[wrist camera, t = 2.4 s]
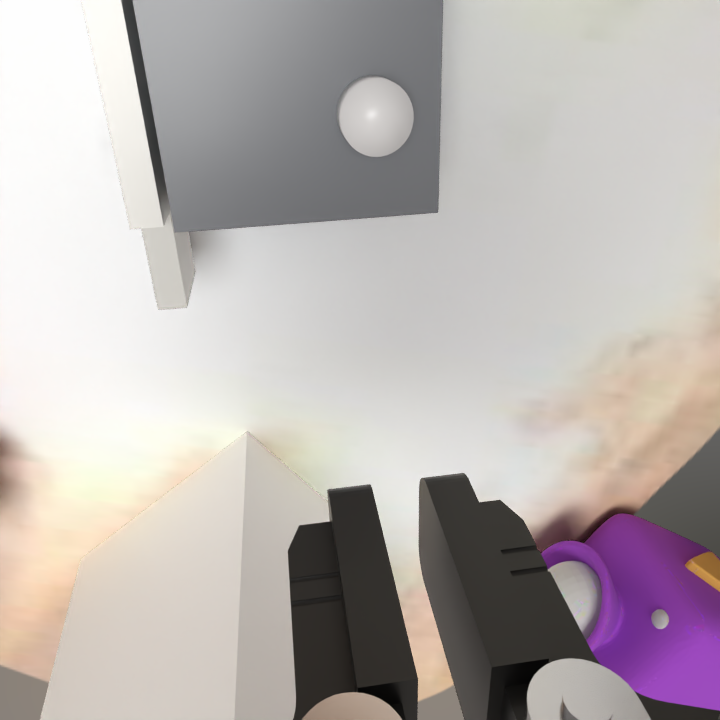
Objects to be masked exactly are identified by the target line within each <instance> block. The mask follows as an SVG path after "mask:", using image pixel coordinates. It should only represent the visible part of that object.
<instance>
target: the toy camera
mask: <svg viewBox="0 0 720 720" xmlns="http://www.w3.org/2000/svg"><path fill="white" fill-rule="evenodd" d="M541 555H542V557H543V559H544V561H545V563H546V565H547V569H548V572H549V571H550V572H551V574H552V576H553V578H554V580H555V582H556V584H557V586H558V588H559V589H560V591H561V593H562V595H563V597H564V599H565V601H566V603H567V605H568V607H569V609H570V611H571V612H572V614H573V616H574V618H575V620H576V622H577V624H578V626H579V628H580V630H581V632H582V634H583V635H584V637H585V639H586V641H587V643H588V645H589V647H590V649H591V651H592V652H593V654H594V656H595V657H596V659H597V660H598V662H599V663H600V664H601V665H602V666H604V667H606V668H607V669H609V670H611V671H612V672H614V673H615V674H617V675H618V676H620V677H621V678H622V679H623V680H624V681H625V682H626V683H627V684H628V685H629V686H630V687H631V688H632V689H633V690H634V691H635V692H637V693H639V694H641V695H644V696H646V697H649V698H652V699H655V700H660V701H664V702H669V703H676V704H682V705H688V706H694V707H700V708H706V709H712V710H719V711H720V558H719V557H717V556H716V555H715V554H714V553H713V552H711V551H710V550H709V549H707V548H705V547H703V546H701V545H699V544H697V543H695V542H693V541H691V540H689V539H687V538H684V537H682V536H680V535H678V534H676V533H673V532H671V531H669V530H667V529H664V528H662V527H660V526H658V525H656V524H653V523H651V522H649V521H647V520H644V519H642V518H639V517H636V516H634V515H630V514H625V513H621V514H616V515H614V516H612V517H610V518H609V519H608V520H606V521H605V522H604V523H603V524H602V525H601V526H600V527H599V528H598V529H597V530H596V531H595V532H594V533H593V534H592V535H591V536H590V537H589V538H588V539H587V540H586V541H585V542H584V543H581V542H578V541H562V542H558V543H556V544H553V545H552V546H550V547H548V548H547V549H546V550H544V551H543V552H542V553H541Z"/></svg>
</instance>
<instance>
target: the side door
mask: <svg viewBox="0 0 720 720" xmlns="http://www.w3.org/2000/svg"><path fill="white" fill-rule="evenodd" d="M81 3H82V8H83V12H84V17H85V22H86V26H87V31H88V36H89V40H90V45H91V50H92V54H93V59H94V64H95V68H96V73H97V78H98V82H99V87H100V92H101V96H102V101H103V106H104V110H105V115H106V120H107V124H108V129H109V134H110V138H111V143H112V148H113V152H114V157H115V161H116V166H117V171H118V175H119V180H120V185H121V189H122V194H123V199H124V203H125V208H126V213H127V217H128V222H129V227H130V229H142V234H143V239H144V244H145V249H146V254H147V259H148V263H149V268H150V273H151V278H152V283H153V288H154V293H155V297H156V302H157V307H158V310H165V309H176V308H187V306H188V302H189V297H190V293H191V289H192V284H193V280H194V276H195V272H196V271H195V265H194V259H193V253H192V247H191V242H190V236H189V232H178V233H174V227H173V221H172V216H171V210H170V205H169V199H168V194H167V188H166V183H165V177H164V172H163V166H162V161H161V155H160V150H159V144H158V138H157V133H156V127H155V122H154V116H153V111H152V105H151V100H150V94H149V89H148V83H147V78H146V72H145V67H144V61H143V55H142V50H141V44H140V39H139V33H138V28H137V22H136V17H135V11H134V6H133V0H81Z"/></svg>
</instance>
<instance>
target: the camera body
mask: <svg viewBox="0 0 720 720" xmlns="http://www.w3.org/2000/svg"><path fill="white" fill-rule="evenodd" d="M133 6H134V11H135V17H136V22H137V28H138V33H139V39H140V44H141V50H142V55H143V61H144V67H145V72H146V78H147V83H148V89H149V94H150V100H151V105H152V111H153V116H154V122H155V127H156V133H157V138H158V144H159V150H160V155H161V161H162V166H163V172H164V177H165V183H166V188H167V194H168V199H169V205H170V210H171V216H172V221H173V227H174V233H178V232H191V231H204V230H217V229H230V228H243V227H256V226H269V225H283V224H296V223H309V222H322V221H335V220H348V219H361V218H374V217H387V216H400V215H413V214H426V213H438V197H439V153H440V110H441V67H442V23H443V0H133Z"/></svg>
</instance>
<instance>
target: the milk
mask: <svg viewBox="0 0 720 720" xmlns="http://www.w3.org/2000/svg"><path fill="white" fill-rule="evenodd" d="M329 521H330V520H329V507H328V501H327V500H325V499H324V498H323V497H322V496H321V495H320V494H319V493H317V492H316V491H315V490H314V489H313V488H312V487H311V486H309V485H308V484H307V483H306V482H305V481H304V480H302V479H301V478H300V477H299V476H298V475H297V474H296V473H294V472H293V471H292V470H291V469H290V468H289V467H288V466H286V465H285V464H284V463H283V462H282V461H281V460H280V459H278V458H277V457H276V456H275V455H274V454H273V453H272V452H270V451H269V450H268V449H267V448H266V447H265V446H264V445H262V444H261V443H260V442H259V441H258V440H257V439H256V438H254V437H253V436H252V435H251V434H250V433H249V432H248V431H247V432H245V433H244V434H243V435H241V436H240V437H239V438H238V439H236V440H235V441H234V442H232V443H231V444H230V445H228V446H227V447H226V448H224V449H223V450H222V451H221V452H219V453H218V454H217V455H215V456H214V457H213V458H211V459H210V460H209V461H207V462H206V463H205V464H204V465H202V466H201V467H200V468H198V469H197V470H196V471H194V472H193V473H192V474H190V475H189V476H188V477H187V478H185V479H184V480H183V481H181V482H180V483H179V484H177V485H176V486H175V487H173V488H172V489H171V490H170V491H168V492H167V493H166V494H164V495H163V496H162V497H160V498H159V499H158V500H156V501H155V502H154V503H153V504H151V505H150V506H149V507H147V508H146V509H145V510H143V511H142V512H141V513H139V514H138V515H137V516H136V517H134V518H133V519H132V520H130V521H129V522H128V523H126V524H125V525H124V526H122V527H121V528H120V529H119V530H117V531H116V532H115V533H113V534H112V535H111V536H109V537H108V538H107V539H105V540H104V541H103V542H102V543H100V544H99V545H98V546H96V547H95V548H94V549H92V550H91V551H90V552H88V553H87V554H86V555H84V556H83V557H82V558H81V560H80V564H79V568H78V572H77V576H76V580H75V584H74V588H73V592H72V595H71V599H70V603H69V607H68V611H67V615H66V619H65V623H64V627H63V631H62V635H61V639H60V643H59V647H58V651H57V654H56V658H55V662H54V666H53V670H52V674H51V678H50V682H49V686H48V690H47V694H46V698H45V702H44V706H43V710H42V714H41V718H40V720H293V718H294V713H295V708H296V688H295V671H294V653H293V636H292V618H291V601H290V581H289V566H288V549H289V547H290V544H291V542H292V540H293V538H294V536H295V533H296V531H297V529H298V527H299V525H305V524H313V523H321V522H329Z"/></svg>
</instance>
